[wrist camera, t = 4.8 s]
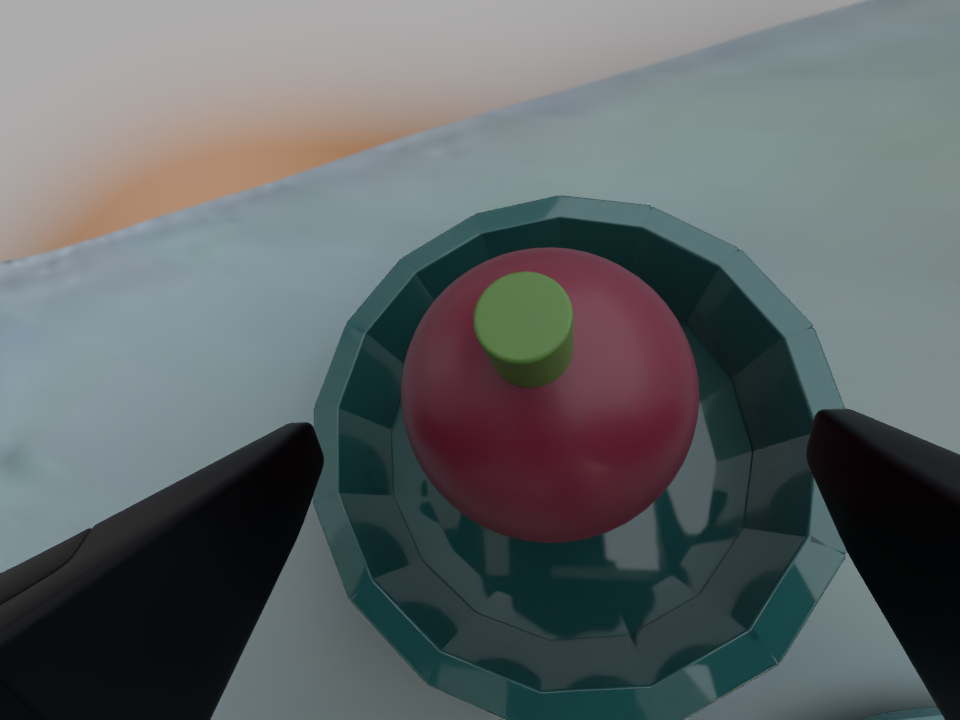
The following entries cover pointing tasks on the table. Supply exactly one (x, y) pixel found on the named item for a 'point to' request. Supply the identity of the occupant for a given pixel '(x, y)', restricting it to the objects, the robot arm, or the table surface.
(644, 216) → the pot
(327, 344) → the table surface
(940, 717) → the pot lid
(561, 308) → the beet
